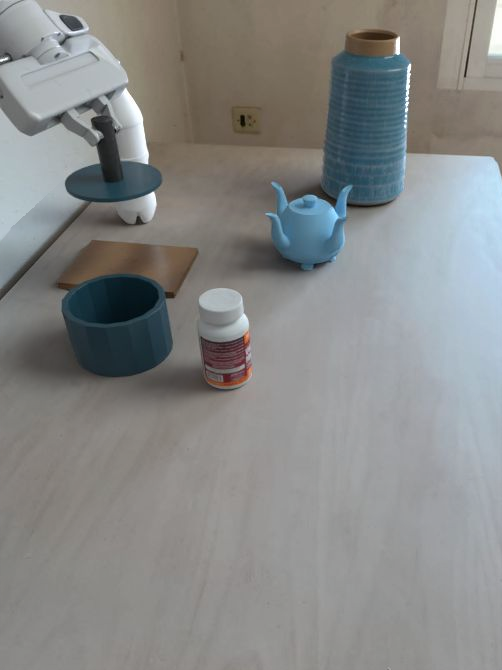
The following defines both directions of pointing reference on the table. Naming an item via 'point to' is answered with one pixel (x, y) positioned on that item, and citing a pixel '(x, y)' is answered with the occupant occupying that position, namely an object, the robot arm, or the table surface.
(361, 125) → the vase
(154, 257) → the mat
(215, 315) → the pill bottle
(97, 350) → the pot
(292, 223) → the teapot
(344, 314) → the table surface
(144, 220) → the water bottle
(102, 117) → the lid
